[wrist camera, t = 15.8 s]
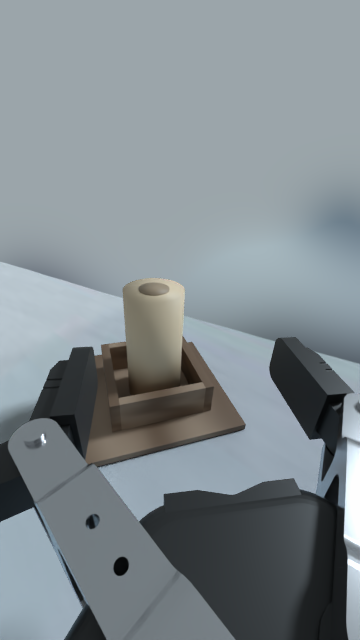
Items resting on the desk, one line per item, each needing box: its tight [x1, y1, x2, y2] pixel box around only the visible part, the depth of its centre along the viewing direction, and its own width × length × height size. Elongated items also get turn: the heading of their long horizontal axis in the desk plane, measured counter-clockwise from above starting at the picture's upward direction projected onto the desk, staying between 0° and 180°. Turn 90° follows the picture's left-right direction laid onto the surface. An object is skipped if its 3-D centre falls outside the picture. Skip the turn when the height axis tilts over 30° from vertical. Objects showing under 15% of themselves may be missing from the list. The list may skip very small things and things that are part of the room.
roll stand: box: [85, 335, 246, 467], centre depth 28 cm, size 14×14×4 cm
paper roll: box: [123, 278, 185, 396], centre depth 26 cm, size 5×5×11 cm
